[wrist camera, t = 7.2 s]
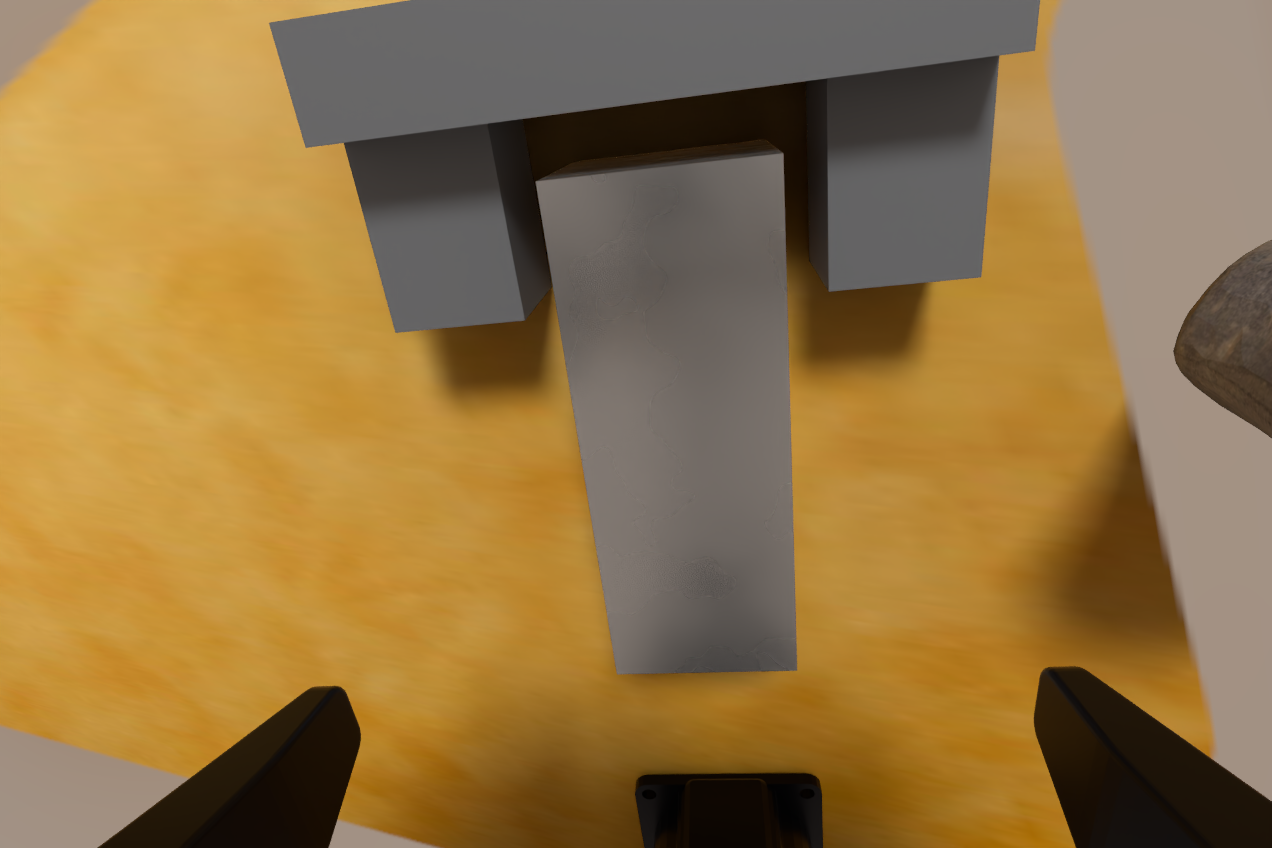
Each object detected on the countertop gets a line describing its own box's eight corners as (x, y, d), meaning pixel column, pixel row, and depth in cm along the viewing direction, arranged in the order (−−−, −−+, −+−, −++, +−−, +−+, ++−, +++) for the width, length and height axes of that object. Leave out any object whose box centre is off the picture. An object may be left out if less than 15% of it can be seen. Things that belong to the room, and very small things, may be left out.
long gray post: (779, 561, 21) (797, 670, 17) (633, 567, 22) (616, 673, 18) (764, 138, 16) (783, 152, 12) (576, 160, 17) (535, 181, 13)
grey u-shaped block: (936, 248, 17) (1010, 296, 13) (440, 298, 19) (366, 354, 14) (953, -47, 14) (1049, -102, 10) (379, 40, 16) (268, 22, 12)
